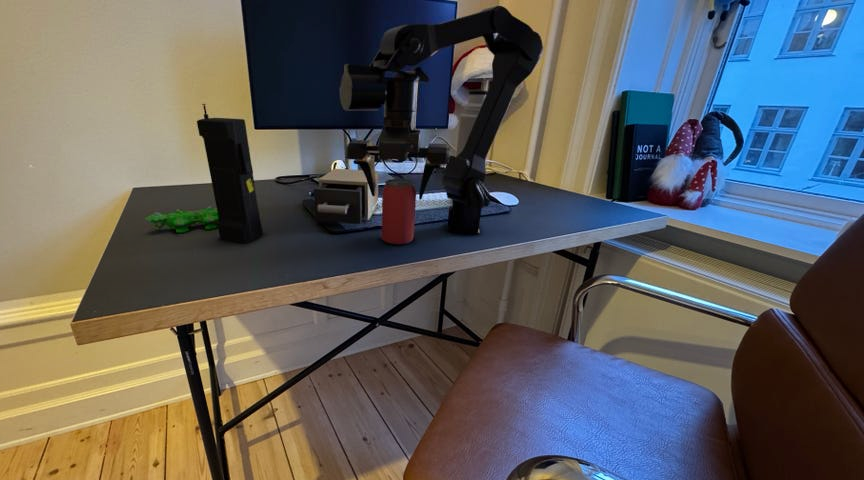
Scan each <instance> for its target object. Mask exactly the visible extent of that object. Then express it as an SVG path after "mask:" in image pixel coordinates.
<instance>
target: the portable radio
mask: <svg viewBox="0 0 864 480" xmlns="http://www.w3.org/2000/svg"><path fill="white" fill-rule="evenodd" d="M201 105H202V106H203V107H202V108H203V111H204V112H203V113H204V114H203V118H201V119H198V120H196V125H197V130H198V135H199V137H201V138H202V139H203V145H204V150H205V154H206V160H207V165H208V170H209V176H210V180H211V185H212V191H213V197H214V202H215V207H217V212H218V218H219V221H218V223H216V226H217V231H218V234H219V239H221V240H224V241H230V242H236V243H241V244H245V243H249V242H250V241H253V240H254V239H256V238H259V237H260V236H262V235H263V234H264V232H263V231H264V230H263V226H262V225H263V224H262V220H261V214H260V211H259V210H260V209H259V203H258V197H257V191H256V186H255V178H254V169H253V165H252V158H251V152H250V145H249V140H248V138H249V137H248V131H247V125H246V120H245V119H244V118H230V117H229V118H228V117H209V114H208V113H207V109H206V105H207V104H206V103H202V104H201Z"/></svg>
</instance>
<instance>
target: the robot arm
mask: <svg viewBox="0 0 864 480" xmlns="http://www.w3.org/2000/svg"><path fill="white" fill-rule="evenodd" d="M479 38H483V39H484V43H485V45H486V48H487V50H488V51H489V52H490V53H491V54H492V55H493V59H492V61H491V62H492V63H491V70H492V71H491V73H492V80H491V83H490V86H489V88H488V90H487V91H488V92H487V95H486V97H485V99H484V102H483V104H482V106H481V109H480V111H479V114H478V116H477V118H476V121H475V123H474V125H473V128H472V130H471V132H470V135H469V137H468V140H467V142H466V144H465V147H464V149H463V151H462V152H461V153H460V154H459V155H458V156H457V157H456V155H455V156H454V155H450V152H451V146H449V145H448V143H431V142H429V143H428V145H427V147H422V146H421V129H416V123H417V122H416V120H417V103H418V87H419V83H429V81H430V79H431V78H430V77H429V75H427V74H426V73H425V71H424V70H423V67H422V66H417V65H418V64H420V63H422V62H424V61H426V60H427V59H429V58H431V57H432V56H433V55H434V54H436V53H437V52H439V51H441V50H442V49H445V48H448V47H451V46H454V45H458V44H461V43H462V44H463V43H466V42H468V41H471V40H474V39H479ZM542 40H543V39H542V37H541V35H540V34H539V33H538V32H536V31H534V29H533V28H532V27H531V26H530V25H529V24H527V23H526V22H524V21H523V20H521V19H519V18H517V17H516V16H514V15H513V14H512V12H510V11H509V9H507V8H506V7H505V6H503V5H495V6H492V7H487V8H484V9H482V10H481V11H478V12H475V13H471V14H468V15H465V16H461V17H458V18H454V19H450V20H446V21H443V22H440V23H427V22H426V23H407V24H404V25H400V26H396V27H393V28H390V29H388V30H386V31H385V32H384V33H383V36H382V37H381V39H380V46H379V47H380V48H379V50H378V51H377V53H376V55H375V56H374V57H373V60H372V61H371V62H370V64H369V66H368V65H359V64H356V63H346V64H344V65H343V74H342V77H341V81H340V86H339V98H340V99H339V100H340V103H341V107H342V108H343V110H344V111H346V112H347V111H349V112H350V111H354V112H355V111H356V112H357V111H361V112H362V111H364V112H365V111H366V112H368V111H371V112H372V111H373V112H374V111H375V112H376V111H377V112H378V111H379V110H380V109H381V107H382V106H383V123H382V129H381V131H380V134H379V137H378V140H377V142H378V145H377V144H374V143H373V140H365V139H364V140H363V139H354V140H352V141H350V142H348V144H346V147H345V159H346V160H353V162H352V163H353V164H354V165H358V166H359V167H360V169H361V170H363V172H364V174H365V176H366V179H367V182H368V185H369V188H370V191H371V194H372V196H375V191H376V181H375V171H376V163H375V156H376V157H378V158H379V160H382V161H387V160H395V161H398V162H403V161H406V160H408V158H414V159H416V158H417V159H425V160H426V161H425V163H424V166H423V172H422V177H421V183H420V187H419V191H418V195H419V196H418V200H419V201H420V200H422V199H423V197H424V196H423V195H424V193H425V190H426V188H427V185H428V183H429V180H430V179H431V177H432V175H433V173H434V172H435V170H436V169H439V170H440V169H441V168H442V165H445V167H444V169H443V170H442V171H441V175H442V179H441V184H442V188H443V190H445V194H446V198H447V199H448V200H451V205H449V206H448V214H447V222H446V223H447V228H448V232H449V233H457V234H467V235H480V224H481V223H480V222H481V216H482V209H483V208H484V207H488V206H489V204H490V202H491V200H492V195H491V194H490V192H489V191H488V190H487V188H486V186H484V184H485V183H484V182H485V180H486V176H487V162H486V163H485V159H486V156H487V157H488V155H489V152H490V149H491V147H492V144H493V143H494V140H495V138H496V136H497V134H498V131H499V129H500V127H501V125H502V122H503V120H504V117H505V115H506V114H507V111H508V109H509V106H510V104H511V102H512V99H513V97H514V96H515V93H516V91H517V89H518V87H519V86H520V85H521V84H523V82H524V81H526V79H527V78H529V76H531V74H533V72H534V70H535V69H536V67H537V65H538V63H539V61H540V60H541V58H542V56H543V53H544V44H543V41H542ZM413 66H414V67H413ZM405 67H413V68H412V69H411V70H403V69H404V68H405ZM386 73H394V74H393V75H392V77H389V76H388V77H387V76H386Z"/></svg>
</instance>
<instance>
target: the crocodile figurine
mask: <svg viewBox="0 0 864 480" xmlns="http://www.w3.org/2000/svg"><path fill="white" fill-rule="evenodd" d="M144 220H145V221H147V222H149V223H152V225H154V226H155V227H156V228H155V230H156V231H160V230H161V229H162V228H163V227H164V226H167V227H168V228H171V229H172V230H173V231H174V230H175V232H176V233H177V234H182V233H183V234H184V233H186V232H188V231H190V229H189V227H194V226H197V225H202V226H204V229H205V230H213V229H217V228H218V226H217V224H218V221H219V218H218V212H217V207H216V206H215V207H214V208H212V206H210V205H209V206H208V207H207V208H205V209H199V210H193V211H191V210H188V211H181V210H179V209H176V210H175V212H172V211H171V212H170V213H167V214H161V213H160V212H158V211H157V212H154V213H153V214H150V215H148V216H146V217H145V218H144Z"/></svg>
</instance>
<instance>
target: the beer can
mask: <svg viewBox="0 0 864 480" xmlns="http://www.w3.org/2000/svg"><path fill="white" fill-rule="evenodd" d="M384 182H385V184H384V186H383V189H382V193H381V194H382V196H381V197H382V198H381V205H382V206H381V238H382V240H383V241H384V242H385V243H387V244H389V245H396V246H403V245H408V244H410V243H411V242H413V240H414V237H415V221H416V204H417V202H416V201H417V191H416V187H415V182H414V181H413V180H411V179H406V178H390V179H386V181H384Z"/></svg>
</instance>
